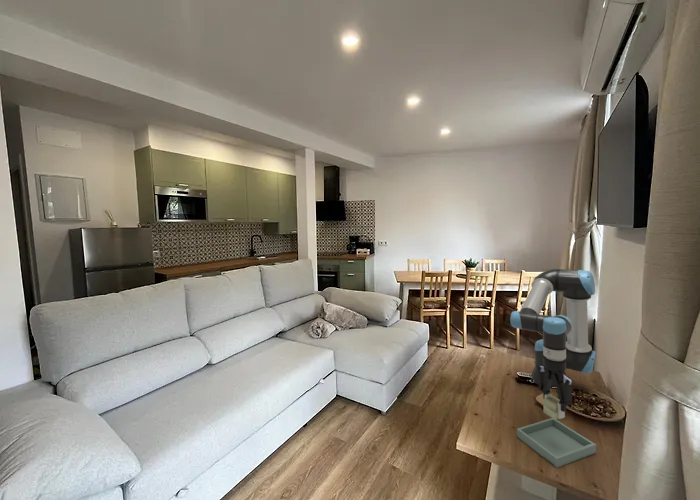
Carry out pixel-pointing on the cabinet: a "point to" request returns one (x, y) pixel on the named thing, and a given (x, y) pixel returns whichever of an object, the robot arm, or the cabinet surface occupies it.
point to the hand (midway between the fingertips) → (554, 413)
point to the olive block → (551, 407)
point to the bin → (556, 442)
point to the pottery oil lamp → (540, 399)
